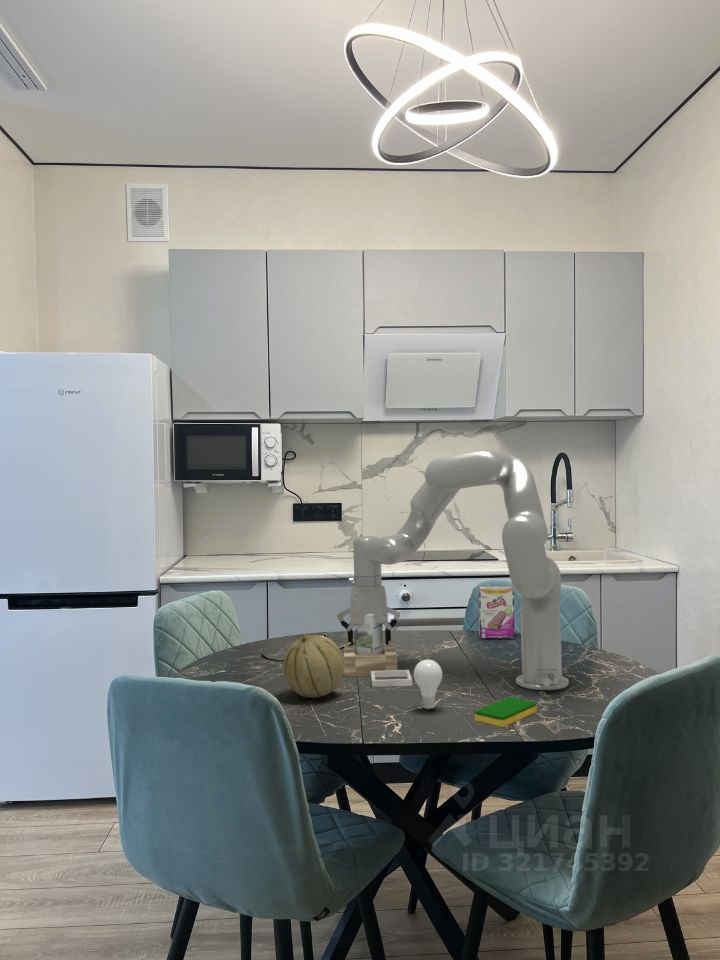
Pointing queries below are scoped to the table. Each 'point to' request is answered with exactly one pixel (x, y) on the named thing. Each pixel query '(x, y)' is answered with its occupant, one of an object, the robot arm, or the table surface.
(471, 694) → the table surface
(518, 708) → the dish sponge
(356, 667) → the block
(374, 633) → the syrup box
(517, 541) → the robot arm
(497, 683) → the table surface
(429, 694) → the lightbulb
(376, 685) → the stand frame
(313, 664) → the cantaloupe
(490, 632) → the candy bar box
